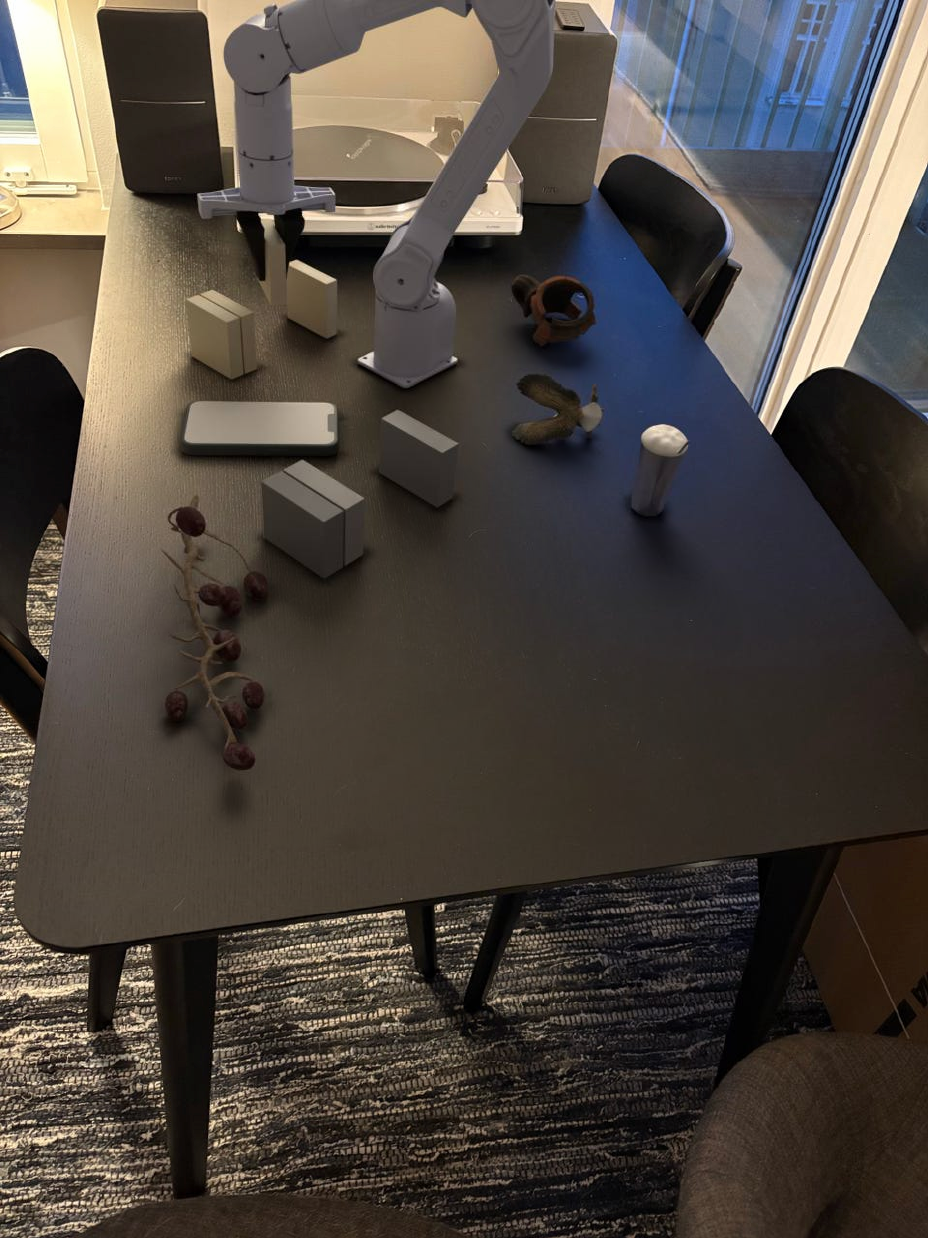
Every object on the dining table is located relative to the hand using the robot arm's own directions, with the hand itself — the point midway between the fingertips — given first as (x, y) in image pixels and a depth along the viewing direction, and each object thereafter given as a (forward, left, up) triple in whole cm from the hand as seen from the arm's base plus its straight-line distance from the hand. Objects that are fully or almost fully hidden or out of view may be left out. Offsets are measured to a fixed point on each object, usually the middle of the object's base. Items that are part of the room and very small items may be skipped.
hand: (271, 276), depth 110 cm
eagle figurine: (-10, +35, -9) cm, 37 cm away
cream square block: (0, 0, -2) cm, 2 cm away
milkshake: (-6, +50, -9) cm, 51 cm away
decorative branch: (+36, +34, -9) cm, 50 cm away
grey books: (+16, +31, -9) cm, 35 cm away
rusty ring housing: (-29, +20, -9) cm, 36 cm away
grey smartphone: (+14, +14, -9) cm, 21 cm away
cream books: (0, 0, -8) cm, 9 cm away
